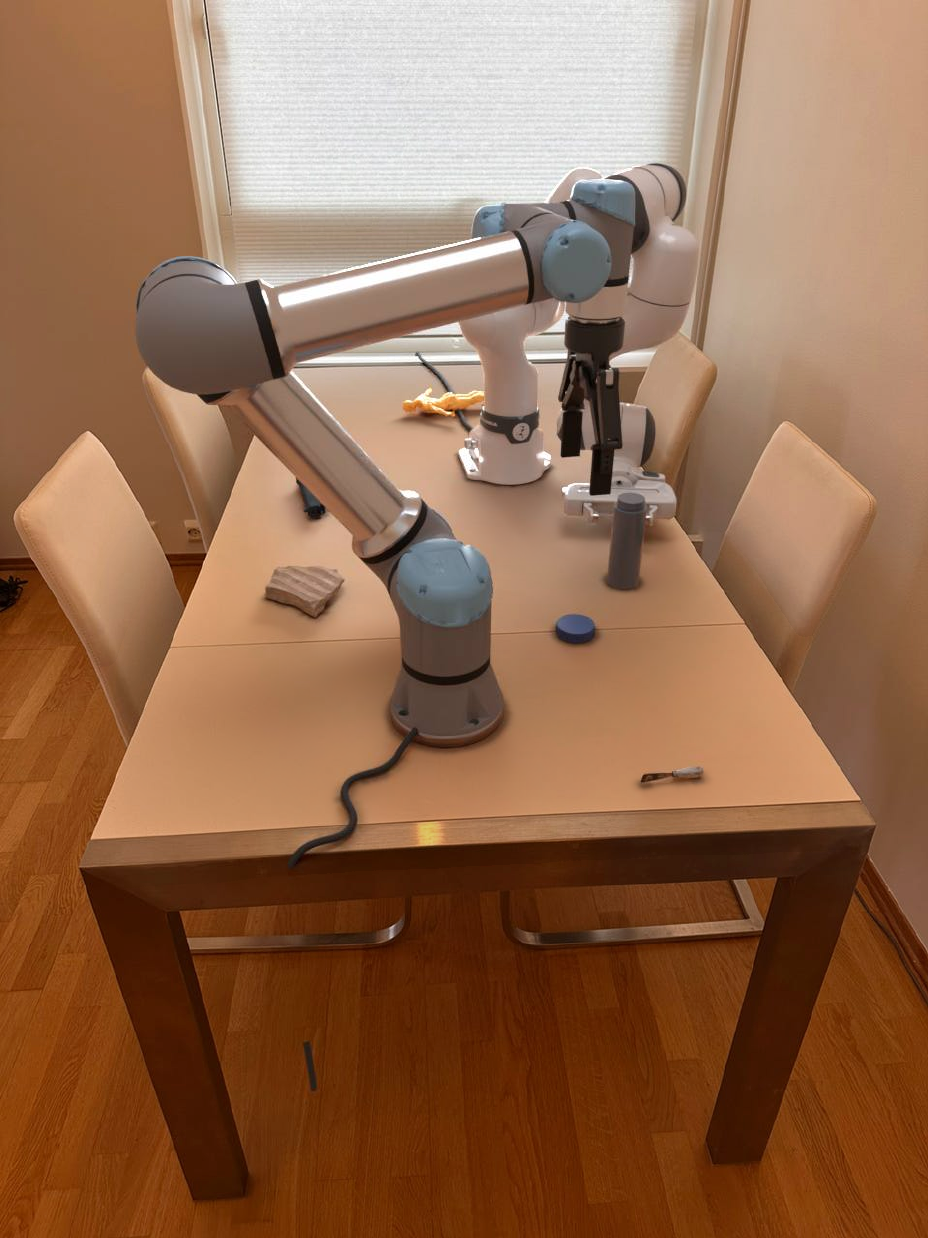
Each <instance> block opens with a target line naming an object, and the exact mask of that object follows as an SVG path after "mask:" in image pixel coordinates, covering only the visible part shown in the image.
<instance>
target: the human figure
mask: <svg viewBox="0 0 928 1238" xmlns="http://www.w3.org/2000/svg"><path fill="white" fill-rule="evenodd" d="M424 391H425V392H423V393H422V394H420V395H418V396H416V398H415V399H414V400H404V401H403V402H402V411H404V412H405V413H410V414H412V413H414V412H417V408H418V409H420V410H421V411H423V412H424V413H427V414H439V415H443V416H444V417H449V416H450V417H451V418H452V417H453V418H454V417H455V416H456V414H455V411H457V409H461V411H462V410H464V409H467V408H469V407H471V406H473V405H476V404H478V403H481V402H484V391H478V390H473V391H470V392H469V393H468V394H460V393H457V394H455V393H454V392H453V393H454V394H453V393H449V392H446V393H444V394H443V395H442V396H441V397H440V398H434V397H429V396H430V395H432V394H433V392H434V391H433V389H432V385H429V387H428V389H424ZM450 410H452V411H450Z"/></svg>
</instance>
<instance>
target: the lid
mask: <svg viewBox="0 0 928 1238" xmlns="http://www.w3.org/2000/svg"><path fill="white" fill-rule="evenodd" d="M595 633H596V624H595V621H594V620H593V619H592V618H591V617H589V616H586V615H584V614H579V613H570V614H565V615H562V616H560V617H558V619H557V621H556V624H555V634H556V636H557V637H558V638H559V639H560V640H562V641H563V642H567V643H569V644H570V643H571V644H584V643H587V642H590V641H591V640H592V639H593V638H594V637H595V635H596V634H595Z"/></svg>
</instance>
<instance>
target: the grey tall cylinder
mask: <svg viewBox="0 0 928 1238" xmlns="http://www.w3.org/2000/svg"><path fill="white" fill-rule="evenodd" d="M646 514H647V505H646V504H645V498H644V496H642V495H640V494H637V493H622V494H620V495H618V497H617V502H615V503H614V507H613V517H611V518H612V520H611V529H610V530H611V531H610V539H609V541H610V542H609V551H608V552H609V553H608V563H607V572H606V573H607V574H606V575H607V576H606V583H607V584H608V585H609V586H610V587H612V588H615V589H618V590H632V589H635V588H636V587H637V586H638V585H640V584H639V583H640V574H641V565H642V558H643V557H642V556H643V549H644V548H643V547H644V539H645V530H646V525H645V523H646Z"/></svg>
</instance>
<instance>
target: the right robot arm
mask: <svg viewBox="0 0 928 1238" xmlns="http://www.w3.org/2000/svg"><path fill="white" fill-rule="evenodd" d="M593 179H608V180H620V181H625V182H628V183H630V184H631V185H632V186H633V187H634V190H635V226H634V230H633V239H632V249H631V260H632V264H631V272H630V275H629V281H628V288H630V289H631V294H630V295H628V296H627V304H626V313H625V315H623V316H622V318H623V319H624V321H625V331H624V342H623V347H622V348H621V350H619V351H618V352H614V353H612V354H611V355H610V356H609V362H611V361H612V360H613V359H614V358H616V357H619V356H621V355H624V354H627V353H631V352H635V351H641V350H646V349H651V348H654V347H657V346H660V345H662V344H664V343H666V342H668V341H669V340H671V339H673V338H674V337H675V336H676V335H677V334H678V333H679V332H680V330H681V329H682V327H683V325H684V322H685V320H686V317H687V315H688V312H689V309H690V306H691V301H692V298H693V294H694V290H695V285H696V279H697V273H698V268H699V267H698V266H699V256H700V243H699V240H698V238H697V237H696V236H695V234H694V233H693V232H692V231H691V230H689V229H687V228H686V227H684V226H682V225H677V224H676V223H675V222H676V220H677V219H678V218H679V216H680V215H681V214H682V212H683V210H684V209H685V205H686V202H687V188H686V187H687V185H686V183H685V180H684V178H683V176H682V175H681V173H680V172H679V171H678V170H677V169H676V168H674V167H673V166H671V165H668V164H665V163H657V162H654V163H648V164H644V165H637V166H632V167H628V168H625V169H624V170H621V171H618V172H616V173H614V174H608V175H606V176H604V175H602V174H601V172H598V171H597V170H595V169H592V168H589V167H583V166H581V167H577V168H574V169H572V170H570V171H569V172H568V173H566V174H565V176H564V177H563V178H562V179H561V180H560V181H559V183H558V184H557V185H556V186H555V187H554V189H552V191H551V192H550V194H549V195H548V197H547V198H546V200H545V201H544V203H553V202H564V201H567V200H570V197H571V195H572V190H573V186H574V184H575V183H577V182H578V181H583V180H584V181H586V180H593ZM565 309H566V302H561V301H558V300H556V299H555V298H552V299H548V300H544V301H540V302H535V303H531V304H527V305H523V306H519V307H515V308H511V309H507V310H503V311H499V312H495V313H491V314H487V315H484V316H480V317H476V318H472V319H468V320H464V321H460V322H458V327H459V331H460V333H461V335H462V336H463V339H464V340H465V341H466V342H467V343H468V344H469V345H471V346H472V347H473V348H474V349H475V351H476V353H477V355H478V358H479V361H480V365H481V369H482V374H483V392H484V401H483V404H481V406H482V408H481V412H480V414H479V415H480V416H479V417H480V418H479V423H478V424H477V425H475V426H474V427H472V426H471V425H470V424H469V423H468V421H467V420H466V418H465V416H464V414H463V412H462V410H461V409H457V410H456V412H457V414H458V416H459V418H460V420H461V423H462V425H464V427H465V428H466V429H467V430H469V434H468V438H465V439H464V447H463V448H460V449H459V450H458V457H459V460H460V463H461V465H462V467H463V470H464V473H465V475H466V477H467V479H469V480H474V481H483V482H487V483H490V484H496V485H506V486H514V485H515V486H516V485H523V484H524V485H525V484H528V483H531V482H534V481H537V480H539V479H540V478H541V477H542V476H543V474H544V472H545V471H547V470H548V469H550V467H551V463H550V460H551V455H550V454H549V453H547V452H545V433H544V430H542V429H541V428H539V426H540V419H541V414H540V408H539V406H538V403H539V401H538V399H539V377H540V376H539V375H540V374H539V370H538V369H537V366H535V364H533V362H531V361H529V359H528V357H527V354H526V349H525V341H526V339H527V338H531V337H534V336H538V335H541V334H543V333H545V332H546V331H548V330H549V329H551V328H553V326H555V325H556V324H557V323H558V322H559V321H560V320H561V319H562V317H563V315H564V313H565ZM414 356H415V357H417V358H418V359H419V360H420V361H421V363H423V364H424V365H425V366H427V367H428V368H429V369H430V370H432V372H434V374H435V375H437V377H438V378H439V379H440V380H441V382H442V383H443V385H445V387H446V389H447V391H448V393H453V394H454V395H455V393H454V391H453V389H452V388H451V385H450V384H449V382H448V381H447V379H445V377H444V376H443V375H442V373H441V372H440V371H438V369H437V368H435V367H434V366H433V365H432V364H431V363H430V362H428V361H427V360H426V359H424V358H423V357H422V355H421V353H420V351H416V352H415V354H414ZM584 406H585V407H584V408H585V409H580V410H577V411H582V412H583V417H582V432H581V447H580V451H592V450H591V448H590V447H591V446H592V445H593V444H596V443H595V437H594V430H593V424H592V417H591V411H590V404H589V401H588V400H586V399H584ZM563 412H565V411H563V410H562V407H561V408H560V410H559V412H558V415H557V419H556V436H557V438H558V439H559V440H560V441H561V436H562V418H563ZM620 416H621V431H622V443H623V445H622V449H615V450H614V461H613V472H612V483H611V494H607V495H595V496H591V495H590V494H589V489H590V482H589V483H588V482H586V483H585V482H574V483H569V485H567V486H565V487H562V489H561V496H562V497H563V505H562V506H563V508H562V509H563V510H562V512H563V514H565V515H566V516H572V517H573V516H575V517H583V518H586V519H587V520H588V521H589V522H588V523H589V524H598V523H599V517H600V518H613V507H614V503H615V502H617V497H618V495H620V494H622V493H637V494H640V495H642V496H644V498H645V504H646V505H647V514H646V523H645V526H653V522H654V521H655V520H671V519H673V518H675V516H676V511H677V505H678V503H677V502H678V501H677V495H676V494H675V491H674V489H673V488H672V486H671V485H670V484H668V483H667V482H666V481H667V480H666V475H665V474H663V473H658V472H653V471H649V470H644V469H641V468H642V467H643V466H644V465H645V464H646V463H647V462H648V461H649V460H650V458H651V456H652V453H653V450H654V447H655V442H656V431H657V430H656V420H655V418H654V416H653V414H652V412H651V411H650V409H649V408H648V407H647V406H646V405H645V406H644V405H640V404H635V403H634V404H633V403H629V402H620ZM608 440H610V439H608ZM548 460H549V461H548Z"/></svg>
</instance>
